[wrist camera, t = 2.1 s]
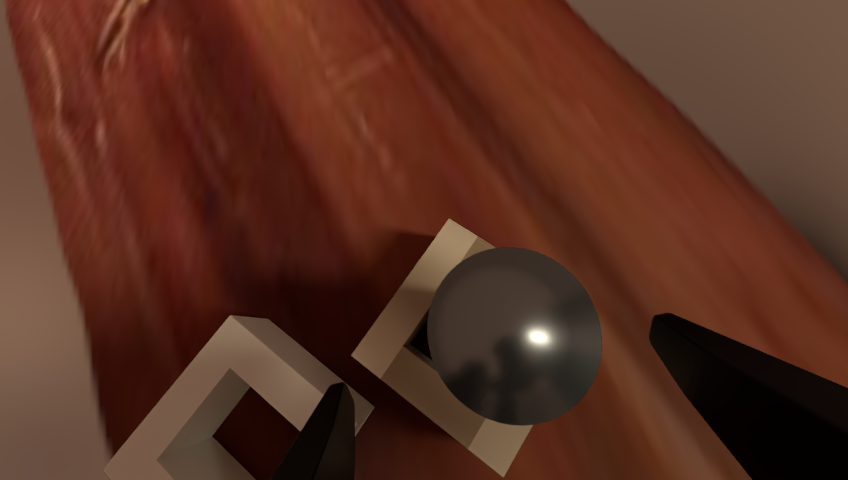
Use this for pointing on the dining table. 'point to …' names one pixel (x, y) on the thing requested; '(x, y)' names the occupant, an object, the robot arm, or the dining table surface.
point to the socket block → (225, 403)
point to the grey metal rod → (514, 336)
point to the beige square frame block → (415, 372)
